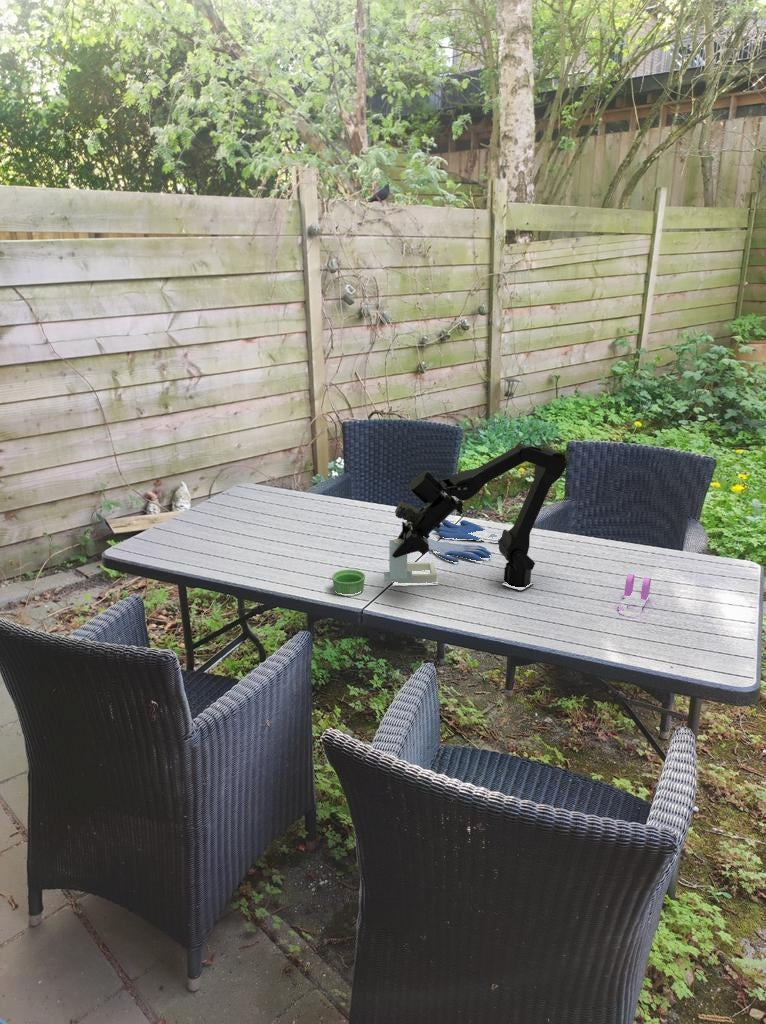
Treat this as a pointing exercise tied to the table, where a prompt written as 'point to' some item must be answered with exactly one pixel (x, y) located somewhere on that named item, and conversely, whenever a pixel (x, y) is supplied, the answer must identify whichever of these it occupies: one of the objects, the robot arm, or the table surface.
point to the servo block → (397, 564)
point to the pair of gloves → (457, 549)
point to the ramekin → (348, 581)
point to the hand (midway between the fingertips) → (392, 553)
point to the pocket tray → (421, 577)
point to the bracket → (629, 587)
